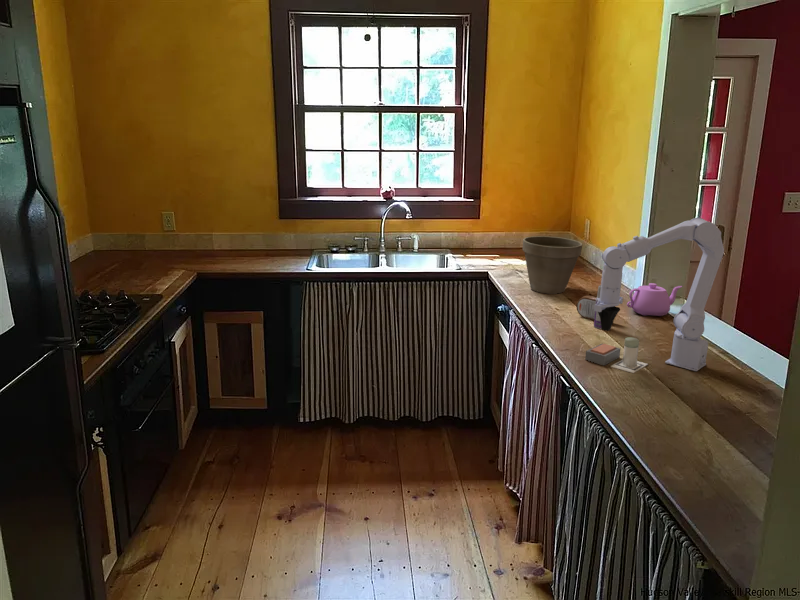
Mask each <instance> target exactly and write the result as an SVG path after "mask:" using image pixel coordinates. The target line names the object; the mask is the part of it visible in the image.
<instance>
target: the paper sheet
mask: <svg viewBox="0 0 800 600" xmlns="http://www.w3.org/2000/svg"><path fill="white" fill-rule="evenodd" d="M648 365H649V363H646V362H642V361H640V360H637V366H636V367H627V366H624V365H623V359H621V360H619V361H617V362H616V363H613V364H612V365H610V368H613V369H618V370H620V371H624V372H627V373H631V374H634V373H637V372H638V371H640V370H642V369H643V368H645V367H647V366H648Z"/></svg>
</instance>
